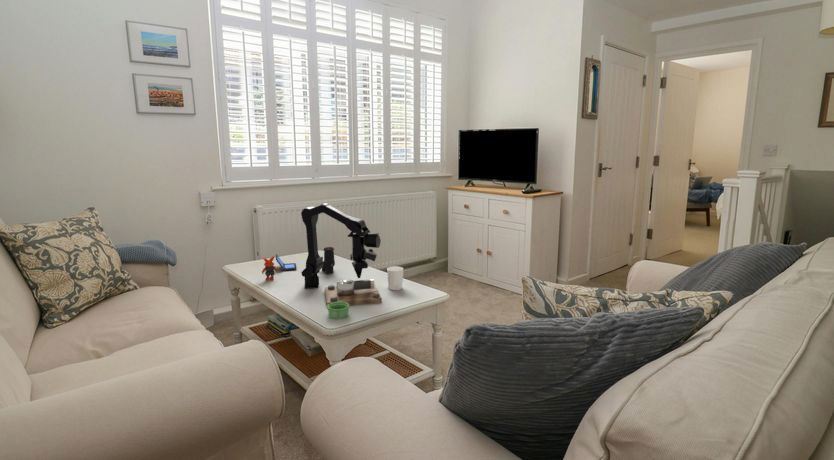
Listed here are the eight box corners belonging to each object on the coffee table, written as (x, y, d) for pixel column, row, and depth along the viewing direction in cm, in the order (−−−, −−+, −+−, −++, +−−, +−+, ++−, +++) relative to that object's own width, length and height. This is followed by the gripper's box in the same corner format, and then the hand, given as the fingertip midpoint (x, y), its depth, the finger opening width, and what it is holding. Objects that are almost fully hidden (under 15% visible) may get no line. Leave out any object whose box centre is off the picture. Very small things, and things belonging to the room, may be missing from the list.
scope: (331, 245, 251) (339, 248, 242) (332, 268, 253) (339, 273, 245) (317, 246, 246) (324, 250, 238) (318, 271, 249) (325, 275, 241)
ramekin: (333, 321, 182) (333, 311, 181) (324, 314, 189) (323, 304, 188) (353, 316, 187) (353, 306, 187) (343, 309, 195) (343, 300, 194)
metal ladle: (338, 296, 203) (337, 284, 202) (335, 290, 211) (335, 279, 209) (375, 292, 208) (375, 281, 207) (372, 287, 216) (371, 275, 214)
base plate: (327, 307, 197) (327, 300, 196) (324, 291, 217) (324, 285, 216) (381, 302, 203) (381, 295, 202) (374, 287, 223) (374, 281, 222)
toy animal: (274, 276, 239) (273, 254, 237) (278, 279, 235) (277, 256, 233) (259, 279, 235) (258, 256, 232) (263, 281, 230) (262, 259, 228)
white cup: (397, 291, 217) (397, 271, 215) (384, 288, 221) (383, 269, 219) (406, 287, 223) (406, 267, 221) (393, 284, 228) (393, 265, 226)
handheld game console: (296, 270, 251) (296, 257, 249) (276, 272, 247) (275, 259, 246) (295, 264, 262) (295, 252, 261) (276, 266, 259) (275, 253, 258)
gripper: (378, 250, 205) (379, 282, 209) (372, 240, 223) (372, 271, 226) (354, 251, 203) (354, 284, 206) (349, 242, 220) (350, 272, 224)
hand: (359, 277), depth 215 cm, fingers closed
